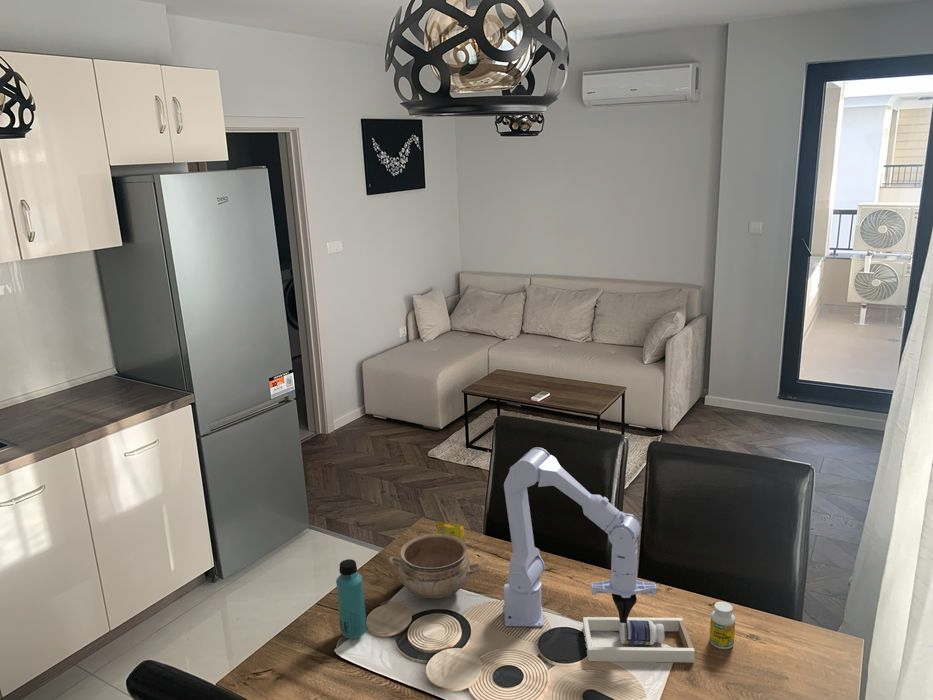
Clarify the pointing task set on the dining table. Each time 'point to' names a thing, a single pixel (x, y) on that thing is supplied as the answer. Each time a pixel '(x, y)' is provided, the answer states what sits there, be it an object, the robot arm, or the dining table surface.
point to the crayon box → (451, 529)
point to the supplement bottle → (722, 626)
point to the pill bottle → (641, 632)
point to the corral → (637, 652)
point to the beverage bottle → (351, 600)
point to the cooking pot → (434, 565)
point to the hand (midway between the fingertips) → (622, 620)
